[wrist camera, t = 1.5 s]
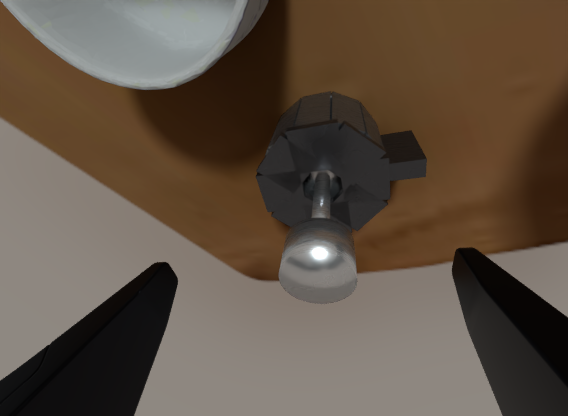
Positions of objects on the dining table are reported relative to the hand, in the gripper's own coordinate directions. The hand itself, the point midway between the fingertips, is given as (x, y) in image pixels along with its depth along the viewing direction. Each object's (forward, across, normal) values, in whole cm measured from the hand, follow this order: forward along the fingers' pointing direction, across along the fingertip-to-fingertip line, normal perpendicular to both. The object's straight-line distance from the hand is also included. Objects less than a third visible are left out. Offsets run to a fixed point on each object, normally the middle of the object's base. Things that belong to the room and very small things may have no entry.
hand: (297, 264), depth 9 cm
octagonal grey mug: (+13, 0, +2) cm, 13 cm away
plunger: (+9, 0, +2) cm, 9 cm away
